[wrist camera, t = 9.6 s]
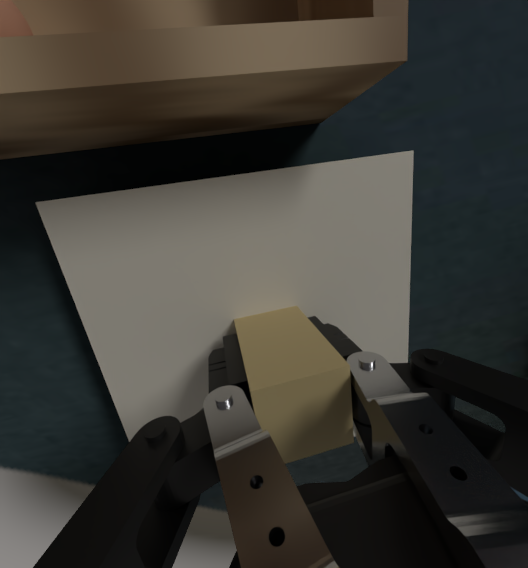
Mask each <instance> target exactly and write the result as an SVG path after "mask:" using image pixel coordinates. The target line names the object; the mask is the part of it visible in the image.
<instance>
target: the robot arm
mask: <svg viewBox="0 0 528 568" xmlns="http://www.w3.org/2000/svg"><path fill="white" fill-rule="evenodd" d="M307 318H308V319H309V320H310V321H311V322H312V323H313V325H314V326H315V327H316V328H317V329H318V330H319V331H320V332H321V334H322V335H323V336H324V337H325V338H326V339H327V340H328V341H329V343H330V344H331V345H332V346H333V347H334V348H335V349H336V350H337V352H338V353H339V354H340V355H341V356H342V357H343V358H344V359H345V361H346V362H347V363H348V364H349V365H350V377H351V397H352V416H353V431H354V433H355V436H356V438H357V440H358V443H359V445H360V447H361V450H362V452H363V455H364V457H365V459H366V462H367V464H368V468H367V469H365V470H364V471H362V472H361V473H360V474H358V475H357V476H355V477H354V478H353V479H351V480H349V481H347V482H333V483H309V484H304V485H300V486H297V487H296V485H295V483H294V481H293V479H292V477H291V475H290V473H289V471H288V469H287V467H286V465H285V463H284V461H283V459H282V457H281V456H280V454H279V452H278V450H277V448H276V446H275V444H274V442H273V440H272V438H271V436H270V434H269V432H268V431H267V430H262V429H261V426H260V424H259V422H258V420H257V418H256V416H255V414H254V411H253V406H252V401H251V396H250V391H249V385H248V380H247V376H246V372H245V367H244V363H243V358H242V354H241V350H240V345H239V341H238V337H237V333H236V334H232V335H227V336H223V344H224V347H223V348H219V349H215V350H213V351H212V352H211V354H210V355H209V357H208V365H209V366H208V371H209V372H208V380H209V394H208V395H207V397H206V398H205V400H204V402H203V408H202V409H201V410H200V411H199V412H198V413H197V414H195V415H194V416H192V417H190V418H188V419H186V420H185V421H183V422H181V423H180V422H179V420H178V419H177V418H176V417H173V416H162V417H158V418H156V419H153V420H151V421H150V422H148V423H146V424H145V425H144V426H143V427H141V428H140V429H139V431H138V432H137V433H136V434H135V435H134V437H133V438H132V439H131V441H130V442H129V443H128V445H127V446H126V447H125V448H124V450H123V451H122V452H121V454H120V455H119V456H118V458H117V459H116V460H115V462H114V463H113V464H112V465H111V467H110V468H109V469H108V471H107V472H106V473H105V475H104V476H103V477H102V478H101V480H100V481H99V482H98V484H97V485H96V486H95V488H94V489H93V490H92V492H91V493H90V494H89V495H88V497H87V498H86V499H85V501H84V502H83V503H82V505H81V506H80V507H79V508H78V510H77V511H76V512H75V514H74V515H73V516H72V518H71V519H70V520H69V522H68V523H67V524H66V525H65V527H64V528H63V529H62V531H61V532H60V533H59V534H58V536H57V537H56V538H55V540H54V541H53V542H52V544H51V545H50V546H49V548H48V549H47V550H46V551H45V553H44V554H43V555H42V557H41V558H40V559H39V560H38V562H37V563H36V564H35V566H34V567H33V568H172V566H173V564H174V561H175V559H176V556H177V554H178V551H179V549H180V546H181V544H182V542H183V539H184V537H185V534H186V532H187V529H188V527H189V524H190V522H191V519H192V517H193V514H194V512H195V509H196V507H197V504H198V502H199V499H200V494H201V493H203V492H204V491H206V490H207V489H208V488H210V487H211V486H213V485H214V484H216V483H217V482H219V481H221V486H222V490H223V494H224V498H225V502H226V507H227V511H228V515H229V519H230V523H231V527H232V532H233V536H234V540H235V544H236V549H237V551H236V553H235V556H234V558H233V560H232V562H231V565H230V567H229V568H528V501H526V500H524V499H522V498H520V497H519V496H518V495H517V494H516V493H515V491H514V490H513V489H515V490H516V491H518V492H520V493H521V494H523V495H525V496H527V497H528V380H525V379H522V378H519V377H516V376H513V375H510V374H507V373H504V372H501V371H498V370H495V369H493V368H490V367H487V366H484V365H481V364H478V363H475V362H472V361H469V360H466V359H463V358H460V357H457V356H454V355H451V354H448V353H445V352H442V351H439V350H434V349H420V350H417V351H415V352H413V353H412V354H411V363H388V362H387V360H386V359H385V358H384V357H382V356H381V355H379V354H376V353H373V352H367V351H362V350H361V349H360V348H359V347H358V346H357V345H356V344H355V343H354V342H353V341H352V340H351V339H350V338H348V337H347V336H346V335H345V334H343V332H342V331H341V330H340V329H339V328H338V327H336V326H334V325H331V324H329V323H327V324H323V323H322V322H321V321H320V320H319V319H318V318H317V317H316V316H312V317H307ZM455 397H457V398H460V399H462V400H464V401H466V402H469V403H471V404H473V405H475V406H478V407H480V408H482V409H484V410H487V411H489V412H491V413H493V414H495V415H496V416H498V417H499V418H500V419H501V420H502V421H503V423H504V425H505V427H506V431H505V433H503V432H500V431H498V430H496V429H494V428H492V427H490V426H488V425H486V424H484V423H482V422H480V421H477V420H475V419H473V418H471V417H469V416H467V415H465V414H463V413H461V412H459V411H457V410H455V409H454V405H455ZM512 488H513V489H512Z"/></svg>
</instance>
